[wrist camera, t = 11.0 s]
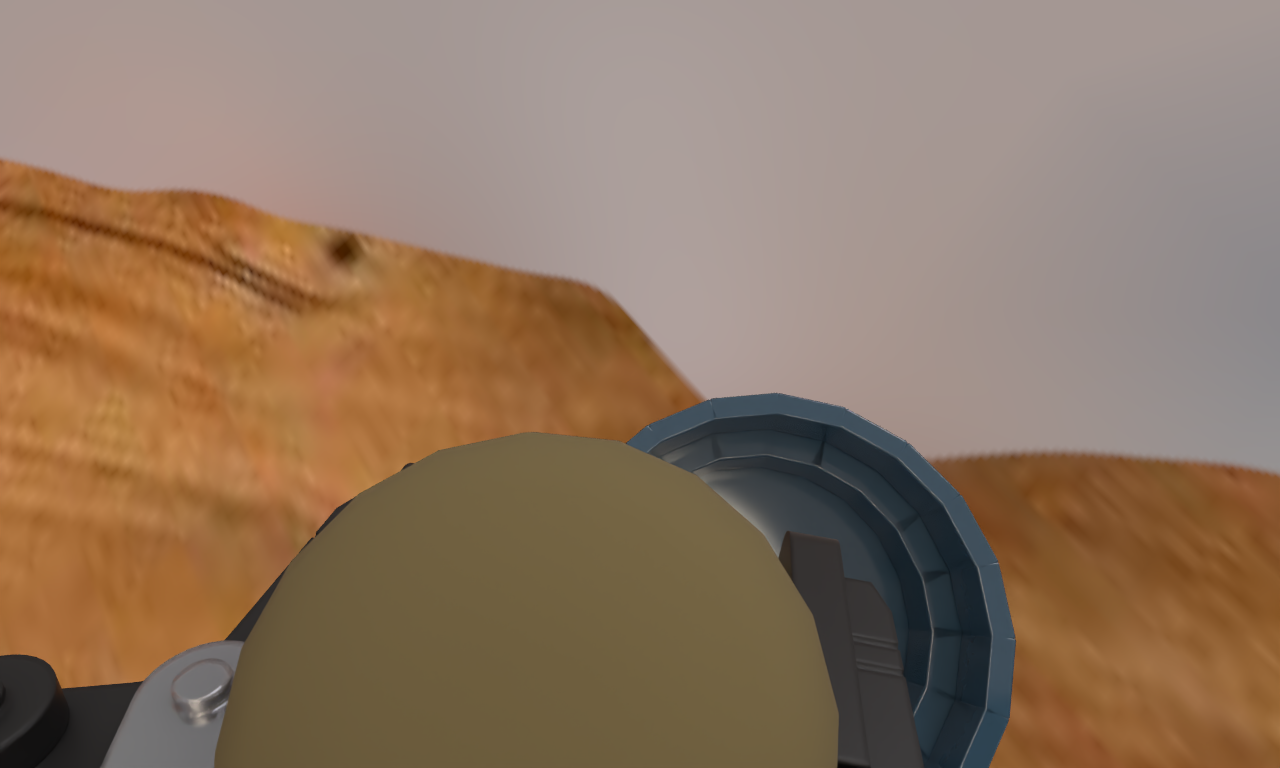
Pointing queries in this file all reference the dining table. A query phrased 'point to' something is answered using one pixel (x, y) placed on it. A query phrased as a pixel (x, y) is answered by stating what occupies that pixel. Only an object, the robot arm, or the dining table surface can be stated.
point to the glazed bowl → (870, 545)
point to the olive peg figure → (534, 626)
